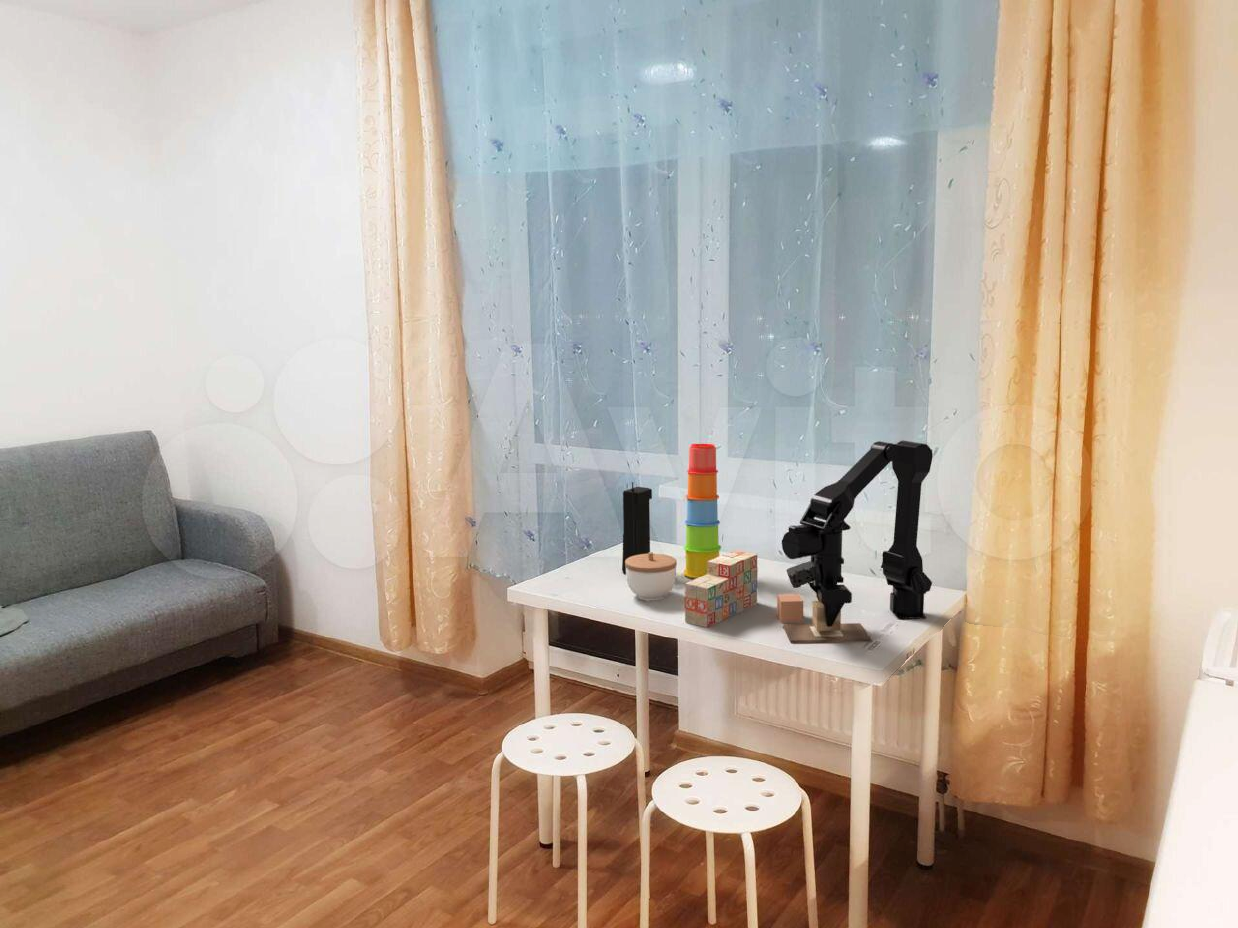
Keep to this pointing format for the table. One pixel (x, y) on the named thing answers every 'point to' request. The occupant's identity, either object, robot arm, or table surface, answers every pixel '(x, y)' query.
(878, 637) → the table surface
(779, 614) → the terracotta cube
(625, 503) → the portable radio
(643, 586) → the lidded bowl
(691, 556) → the stacking cups
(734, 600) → the stack of blocks
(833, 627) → the oak cube
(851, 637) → the brown flat panel
